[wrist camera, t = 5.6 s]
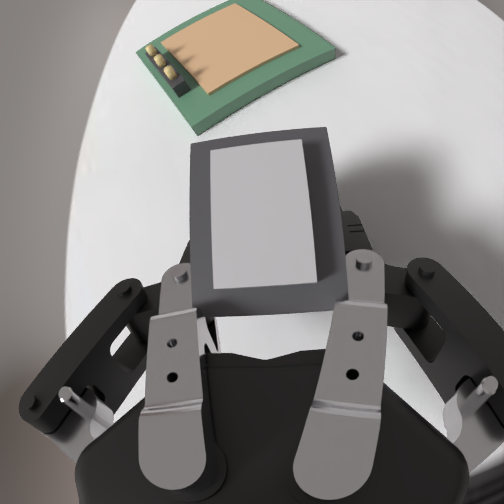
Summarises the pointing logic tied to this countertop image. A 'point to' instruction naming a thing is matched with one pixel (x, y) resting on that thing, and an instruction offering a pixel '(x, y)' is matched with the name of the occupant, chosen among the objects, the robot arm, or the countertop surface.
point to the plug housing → (265, 225)
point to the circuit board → (231, 58)
